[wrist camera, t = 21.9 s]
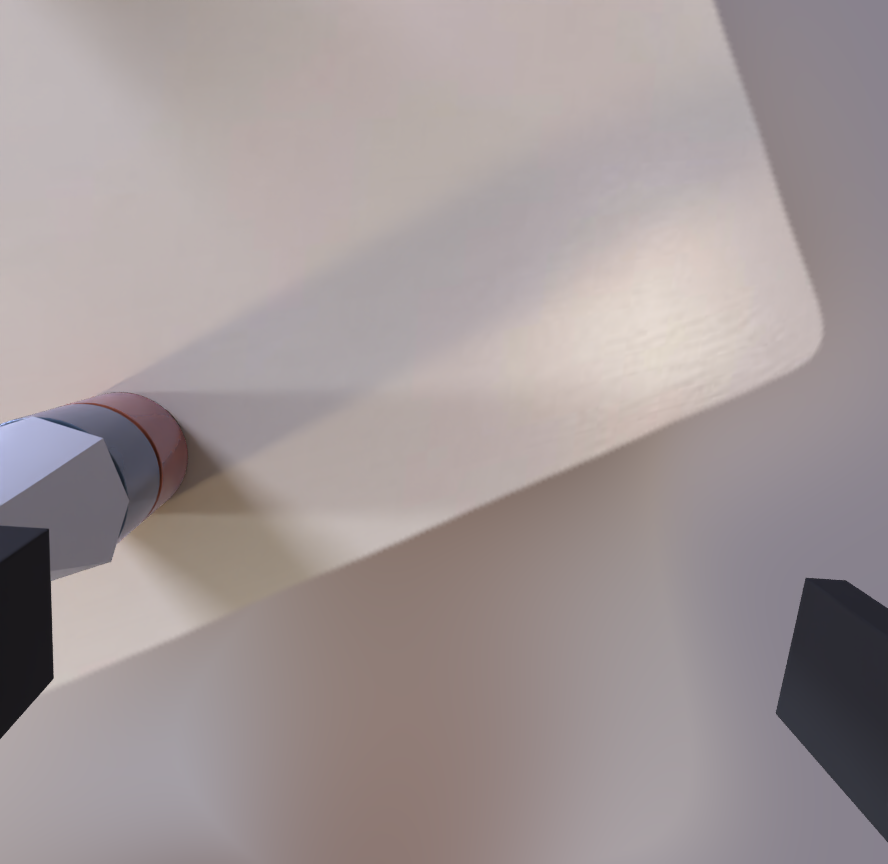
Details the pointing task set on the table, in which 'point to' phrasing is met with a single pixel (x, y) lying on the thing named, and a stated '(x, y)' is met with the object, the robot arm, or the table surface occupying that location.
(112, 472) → the flask
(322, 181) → the table surface
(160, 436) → the cup stack
